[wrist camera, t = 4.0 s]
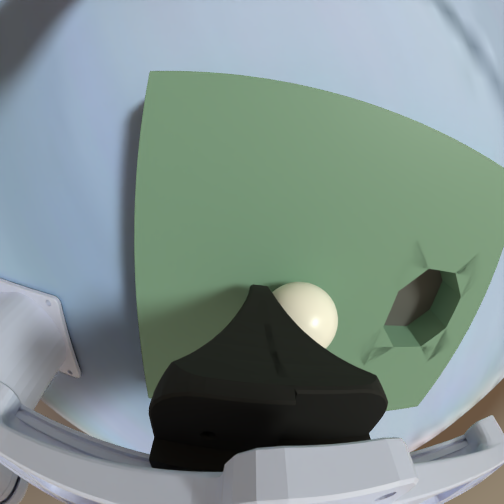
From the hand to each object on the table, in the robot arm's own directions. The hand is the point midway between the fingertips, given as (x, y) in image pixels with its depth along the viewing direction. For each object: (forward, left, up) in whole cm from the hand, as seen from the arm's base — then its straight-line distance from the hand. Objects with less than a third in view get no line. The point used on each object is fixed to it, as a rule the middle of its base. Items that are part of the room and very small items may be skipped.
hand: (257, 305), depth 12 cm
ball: (+2, 0, +1) cm, 2 cm away
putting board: (+4, 0, -3) cm, 6 cm away
